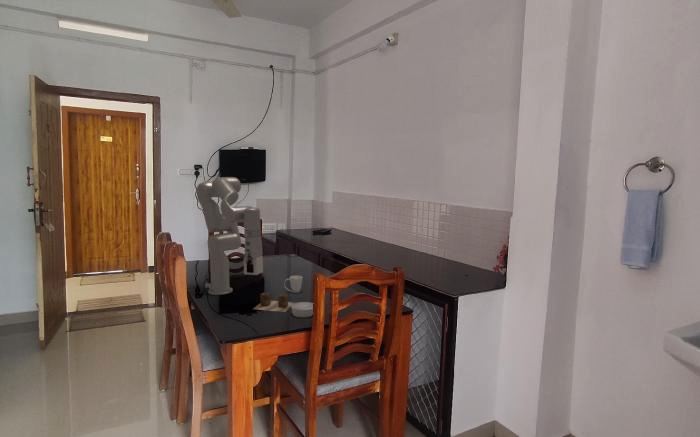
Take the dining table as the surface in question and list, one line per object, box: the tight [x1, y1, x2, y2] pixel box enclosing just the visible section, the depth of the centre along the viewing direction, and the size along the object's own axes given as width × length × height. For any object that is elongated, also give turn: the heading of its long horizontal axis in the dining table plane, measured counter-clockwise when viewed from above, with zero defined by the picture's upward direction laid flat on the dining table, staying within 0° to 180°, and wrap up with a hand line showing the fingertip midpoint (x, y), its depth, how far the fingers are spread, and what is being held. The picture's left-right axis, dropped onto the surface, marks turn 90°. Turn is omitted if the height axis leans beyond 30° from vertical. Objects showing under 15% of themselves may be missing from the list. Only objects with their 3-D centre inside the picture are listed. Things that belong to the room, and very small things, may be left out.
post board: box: [252, 292, 296, 313], centre depth 205 cm, size 16×14×7 cm
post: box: [277, 293, 289, 308], centre depth 204 cm, size 4×4×6 cm
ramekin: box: [290, 301, 314, 318], centre depth 195 cm, size 11×11×5 cm
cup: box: [283, 275, 303, 294], centre depth 233 cm, size 7×10×8 cm
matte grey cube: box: [243, 255, 264, 276], centre depth 205 cm, size 7×7×8 cm
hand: (253, 270), depth 205 cm, fingers closed on matte grey cube, 6 cm apart
